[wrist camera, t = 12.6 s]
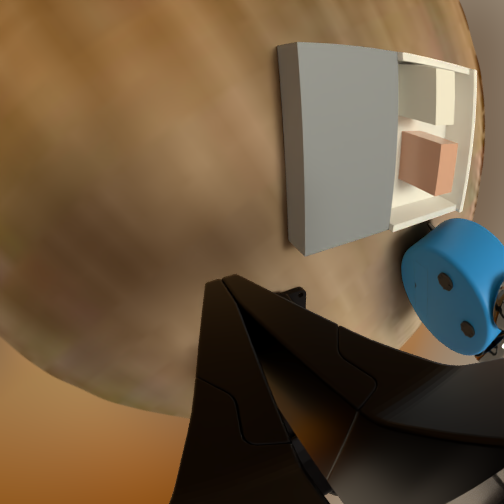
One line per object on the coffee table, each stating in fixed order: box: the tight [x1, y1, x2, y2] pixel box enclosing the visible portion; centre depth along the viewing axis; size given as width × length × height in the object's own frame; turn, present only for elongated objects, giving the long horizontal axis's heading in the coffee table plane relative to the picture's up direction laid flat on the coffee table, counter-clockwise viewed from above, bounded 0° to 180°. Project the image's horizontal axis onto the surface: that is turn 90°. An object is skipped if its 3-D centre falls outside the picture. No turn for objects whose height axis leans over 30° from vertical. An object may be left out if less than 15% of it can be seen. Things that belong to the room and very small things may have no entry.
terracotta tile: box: [398, 131, 458, 196], centre depth 22 cm, size 4×4×2 cm
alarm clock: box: [401, 218, 504, 362], centre depth 26 cm, size 13×6×15 cm, turn 23°
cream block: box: [398, 64, 455, 125], centre depth 19 cm, size 4×4×2 cm
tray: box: [389, 52, 477, 232], centre depth 22 cm, size 14×10×4 cm
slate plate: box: [277, 42, 398, 256], centre depth 20 cm, size 14×8×2 cm, turn 6°
